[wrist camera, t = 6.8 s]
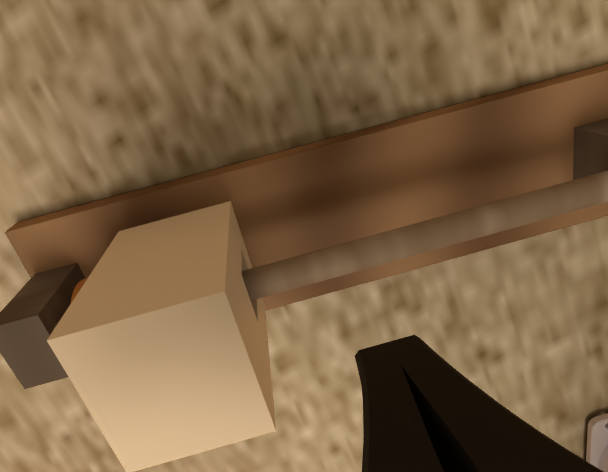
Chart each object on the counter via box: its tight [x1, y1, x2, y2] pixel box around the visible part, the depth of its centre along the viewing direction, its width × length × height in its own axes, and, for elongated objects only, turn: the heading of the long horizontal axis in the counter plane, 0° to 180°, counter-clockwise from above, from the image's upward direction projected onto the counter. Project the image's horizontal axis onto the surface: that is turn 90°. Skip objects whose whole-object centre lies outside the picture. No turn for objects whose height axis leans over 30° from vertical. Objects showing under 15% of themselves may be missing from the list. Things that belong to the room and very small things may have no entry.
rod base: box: [0, 64, 608, 389], centre depth 15 cm, size 24×6×6 cm, turn 103°
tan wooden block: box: [47, 201, 276, 472], centre depth 13 cm, size 4×4×6 cm
